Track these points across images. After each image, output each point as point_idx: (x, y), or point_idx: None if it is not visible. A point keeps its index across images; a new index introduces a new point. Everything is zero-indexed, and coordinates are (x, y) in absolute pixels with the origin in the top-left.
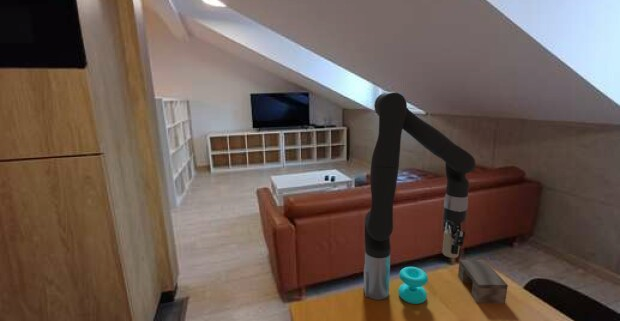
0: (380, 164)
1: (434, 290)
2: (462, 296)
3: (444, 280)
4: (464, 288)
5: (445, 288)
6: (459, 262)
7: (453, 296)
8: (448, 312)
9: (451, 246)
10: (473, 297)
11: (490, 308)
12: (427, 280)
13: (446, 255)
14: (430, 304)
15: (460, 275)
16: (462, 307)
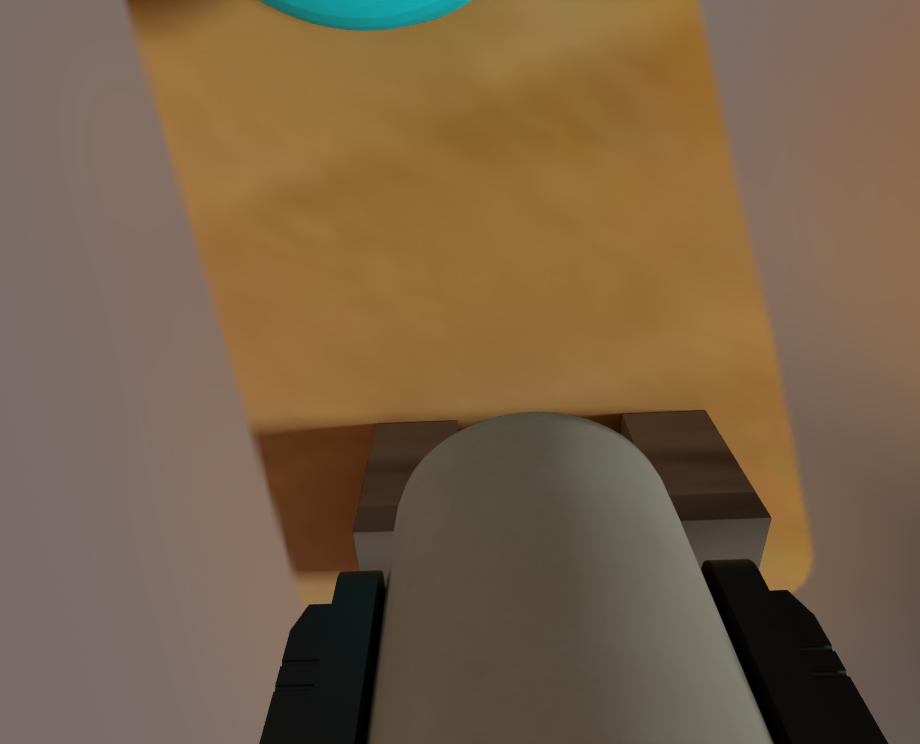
0: None
1: (507, 147)
2: (440, 357)
3: (656, 286)
4: (541, 403)
5: (539, 259)
6: (756, 498)
7: (433, 291)
8: (214, 184)
9: (352, 706)
10: (424, 426)
11: (331, 482)
12: (262, 1)
13: (438, 452)
14: (288, 42)
15: (672, 432)
16: (304, 314)
